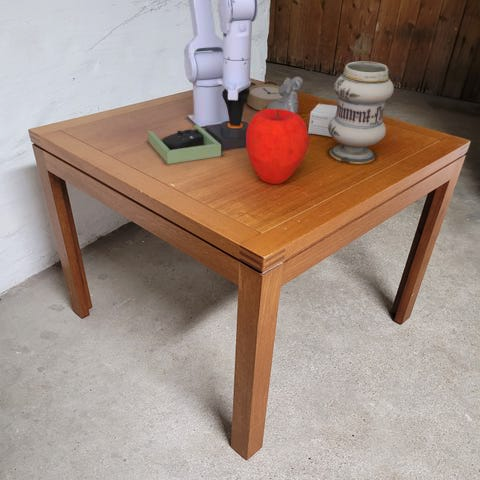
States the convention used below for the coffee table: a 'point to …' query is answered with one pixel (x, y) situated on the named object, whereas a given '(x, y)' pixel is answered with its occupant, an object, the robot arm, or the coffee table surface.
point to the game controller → (183, 139)
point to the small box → (321, 119)
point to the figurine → (288, 95)
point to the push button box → (228, 135)
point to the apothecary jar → (359, 111)
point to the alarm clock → (263, 94)
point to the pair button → (234, 126)
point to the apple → (276, 144)
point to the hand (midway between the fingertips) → (235, 124)
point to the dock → (190, 153)
